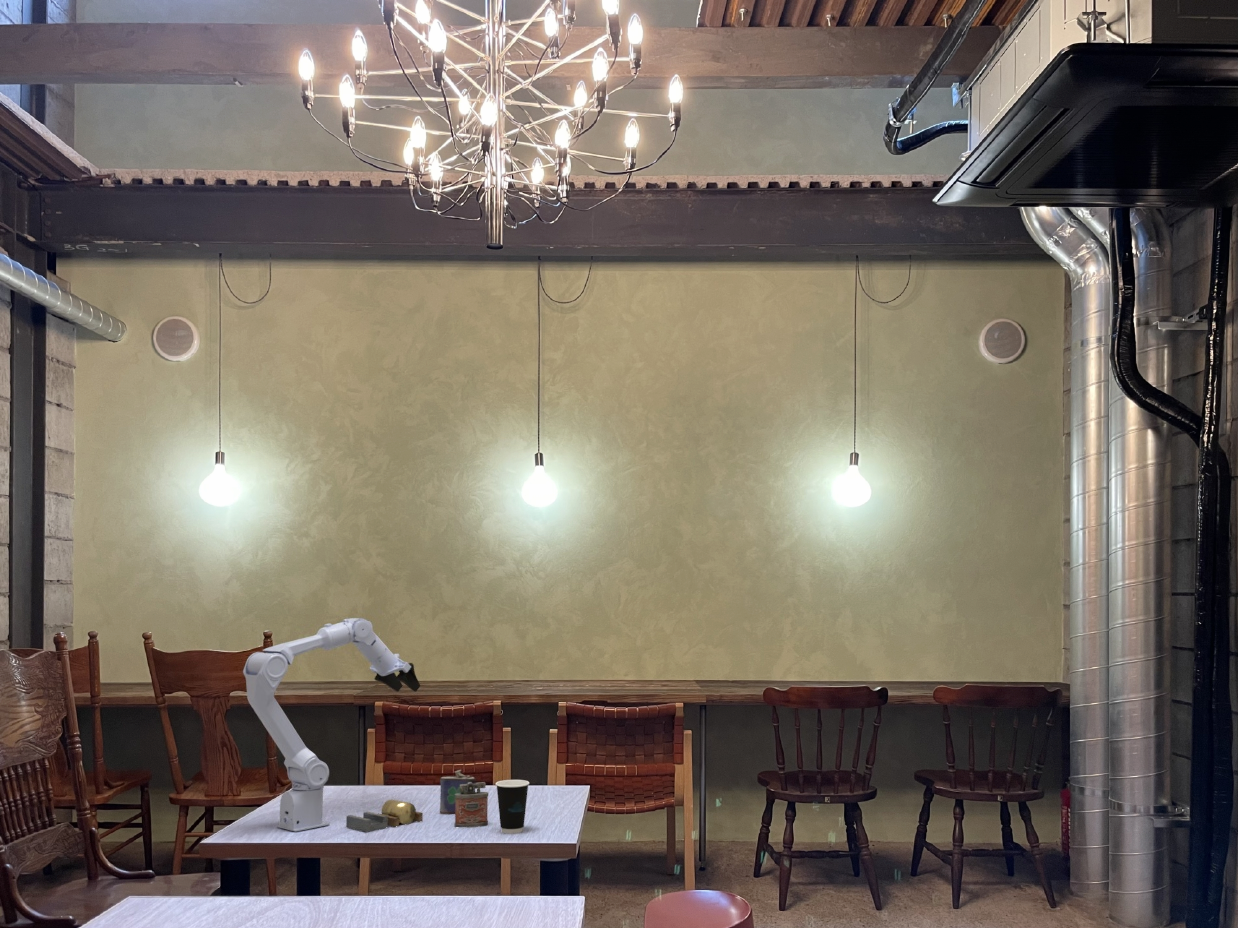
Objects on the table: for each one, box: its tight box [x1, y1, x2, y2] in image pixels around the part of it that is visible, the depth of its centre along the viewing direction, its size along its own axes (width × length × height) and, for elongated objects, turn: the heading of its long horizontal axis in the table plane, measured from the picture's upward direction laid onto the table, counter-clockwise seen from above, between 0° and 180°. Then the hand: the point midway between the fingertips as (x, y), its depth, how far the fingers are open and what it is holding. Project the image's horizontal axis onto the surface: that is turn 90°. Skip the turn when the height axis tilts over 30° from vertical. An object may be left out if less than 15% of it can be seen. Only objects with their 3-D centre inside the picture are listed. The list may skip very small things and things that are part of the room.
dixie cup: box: [495, 779, 530, 835], centre depth 235 cm, size 8×8×11 cm
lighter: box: [454, 781, 489, 828], centre depth 241 cm, size 8×3×10 cm, turn 105°
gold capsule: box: [380, 799, 417, 825], centre depth 245 cm, size 7×5×5 cm
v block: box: [345, 811, 389, 833], centre depth 239 cm, size 6×8×3 cm
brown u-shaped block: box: [377, 811, 424, 828], centre depth 245 cm, size 8×8×2 cm
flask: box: [439, 769, 476, 815], centre depth 255 cm, size 9×3×11 cm, turn 79°
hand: (408, 688), depth 266 cm, fingers open, 7 cm apart
